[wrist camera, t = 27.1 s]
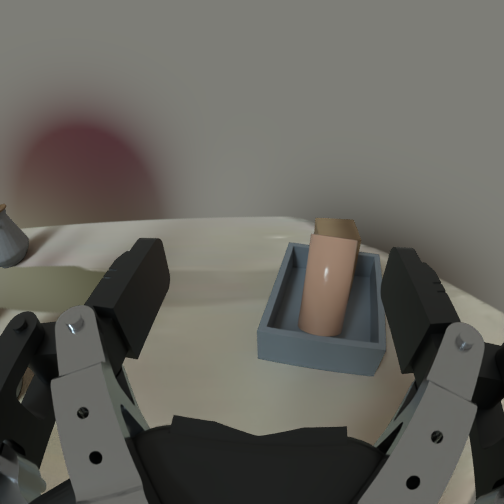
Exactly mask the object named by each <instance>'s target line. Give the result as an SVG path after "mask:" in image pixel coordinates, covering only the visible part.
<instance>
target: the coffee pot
mask: <svg viewBox="0 0 504 504" xmlns="http://www.w3.org/2000/svg"><path fill="white" fill-rule="evenodd" d="M5 208H6V205H5V204H2V205H0V267H3V268H9V267H12V266H14V265H16V264H17V263H19V262H20V261H21V260H22V259H23V258H24V257H25V255H26V251H27V249H28V245H29V239H28V237H27V236H26V235H25V234H24V233H23V232H22V230H21V229H20V228H19V227H18V226H17V225H16V224H15V223H14V222H13V221H12V220H11V219H10V218H9V217H8V216H7V214H6V210H5Z"/></svg>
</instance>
